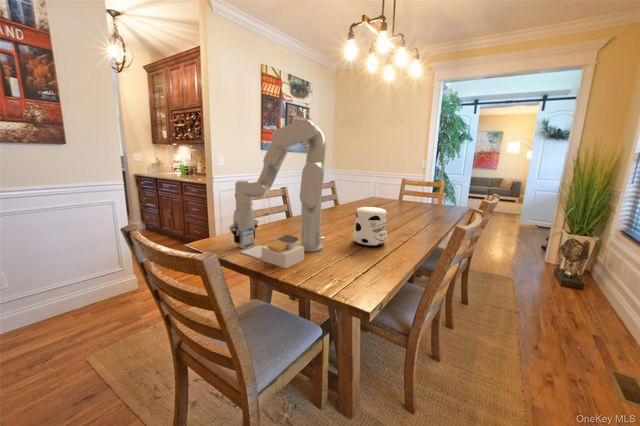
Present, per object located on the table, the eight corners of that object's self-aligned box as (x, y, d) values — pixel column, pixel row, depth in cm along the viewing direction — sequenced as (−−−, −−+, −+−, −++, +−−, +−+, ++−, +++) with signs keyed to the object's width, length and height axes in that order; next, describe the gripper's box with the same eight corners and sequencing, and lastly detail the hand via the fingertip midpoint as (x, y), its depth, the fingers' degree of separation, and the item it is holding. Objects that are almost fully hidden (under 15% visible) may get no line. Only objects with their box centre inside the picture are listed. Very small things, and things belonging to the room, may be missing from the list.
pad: (260, 245, 140) (259, 244, 140) (277, 251, 133) (277, 250, 133) (240, 252, 130) (240, 251, 130) (258, 259, 124) (258, 258, 124)
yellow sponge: (286, 238, 129) (285, 234, 128) (298, 241, 125) (297, 237, 124) (267, 249, 120) (267, 245, 119) (279, 253, 116) (279, 249, 115)
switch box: (280, 252, 132) (280, 234, 130) (304, 259, 124) (304, 241, 122) (261, 260, 123) (261, 241, 121) (285, 268, 115) (285, 248, 113)
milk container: (386, 250, 138) (389, 214, 134) (351, 247, 142) (353, 212, 138) (385, 239, 155) (388, 207, 151) (354, 236, 158) (355, 205, 154)
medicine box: (243, 248, 136) (243, 231, 134) (236, 247, 138) (235, 230, 136) (254, 244, 143) (253, 227, 141) (247, 242, 145) (246, 226, 143)
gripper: (252, 203, 145) (253, 234, 149) (223, 208, 131) (225, 242, 135) (262, 205, 140) (263, 237, 144) (234, 210, 127) (235, 246, 131)
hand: (244, 240), depth 140 cm, fingers open, 9 cm apart
